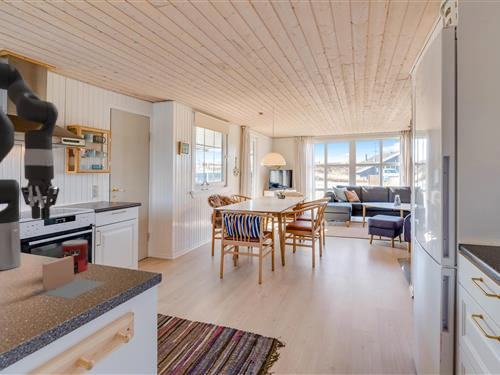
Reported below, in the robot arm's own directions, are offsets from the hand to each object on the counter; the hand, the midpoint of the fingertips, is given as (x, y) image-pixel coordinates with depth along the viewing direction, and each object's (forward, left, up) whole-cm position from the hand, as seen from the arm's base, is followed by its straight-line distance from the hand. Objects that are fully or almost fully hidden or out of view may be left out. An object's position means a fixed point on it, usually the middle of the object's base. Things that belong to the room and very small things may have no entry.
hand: (40, 218), depth 93 cm
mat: (+12, 0, -21) cm, 24 cm away
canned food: (-1, +13, -21) cm, 25 cm away
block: (+7, 0, -21) cm, 22 cm away
